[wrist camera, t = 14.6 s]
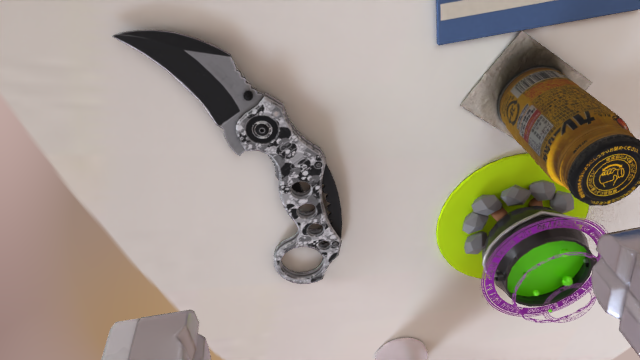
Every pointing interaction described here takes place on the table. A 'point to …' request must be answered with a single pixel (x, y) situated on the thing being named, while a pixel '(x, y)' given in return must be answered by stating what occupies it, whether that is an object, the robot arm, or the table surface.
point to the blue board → (515, 15)
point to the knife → (255, 137)
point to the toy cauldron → (519, 236)
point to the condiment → (558, 122)
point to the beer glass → (402, 350)
